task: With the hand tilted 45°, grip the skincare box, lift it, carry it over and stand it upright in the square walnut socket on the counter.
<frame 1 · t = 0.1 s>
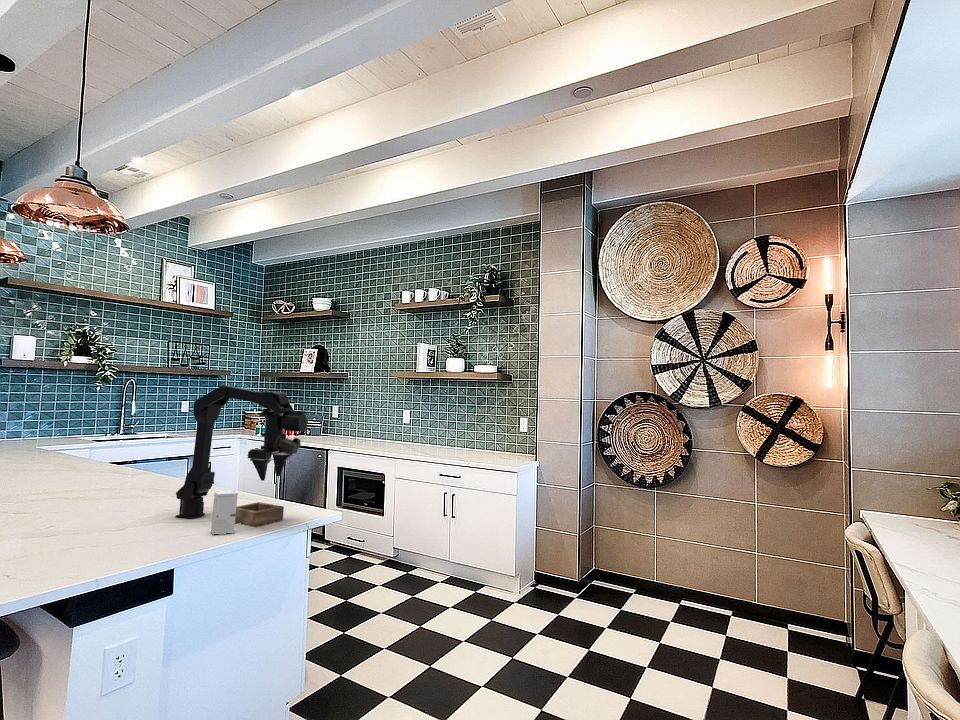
hand: (270, 478, 176), 15 cm above the worktop, tool pointing down, fingers open, 9 cm apart
walnut socket: (256, 521, 178), on the worktop
skincare box: (222, 533, 163), on the worktop
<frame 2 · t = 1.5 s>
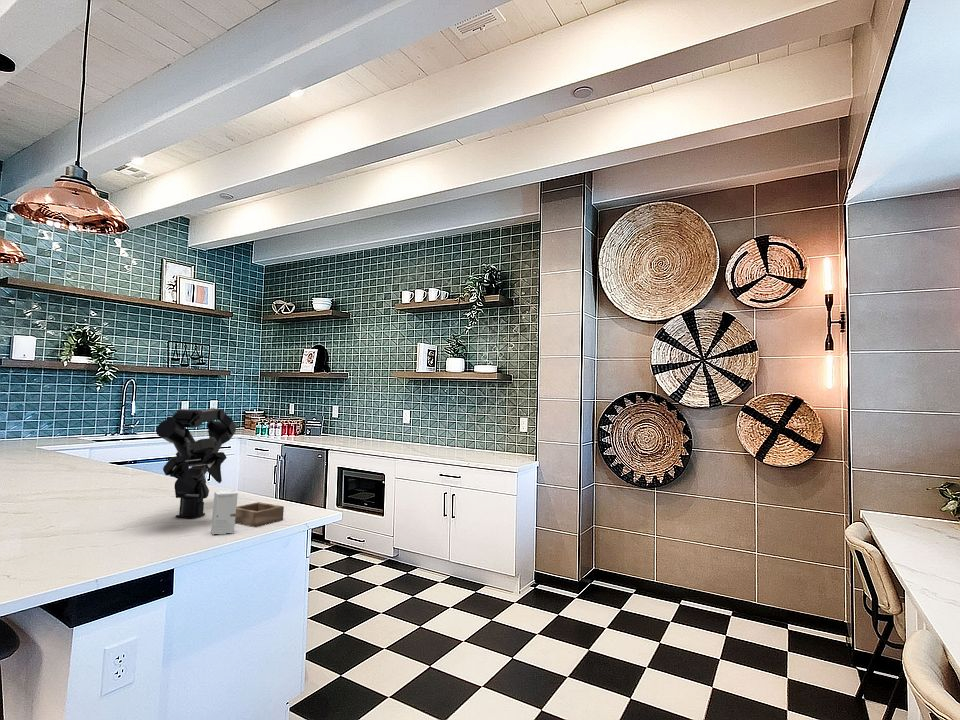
hand: (207, 484, 167), 13 cm above the worktop, tool tilted 45°, fingers open, 9 cm apart
nothing on the worktop moved.
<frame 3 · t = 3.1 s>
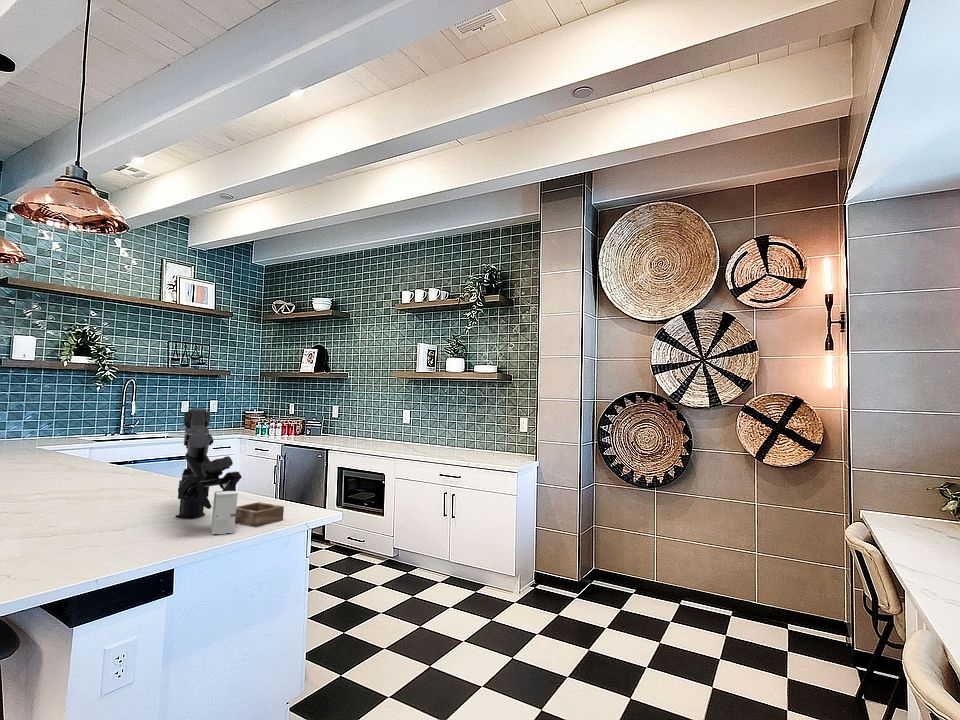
hand: (223, 505, 163), 8 cm above the worktop, tool tilted 45°, fingers open, 9 cm apart
nothing on the worktop moved.
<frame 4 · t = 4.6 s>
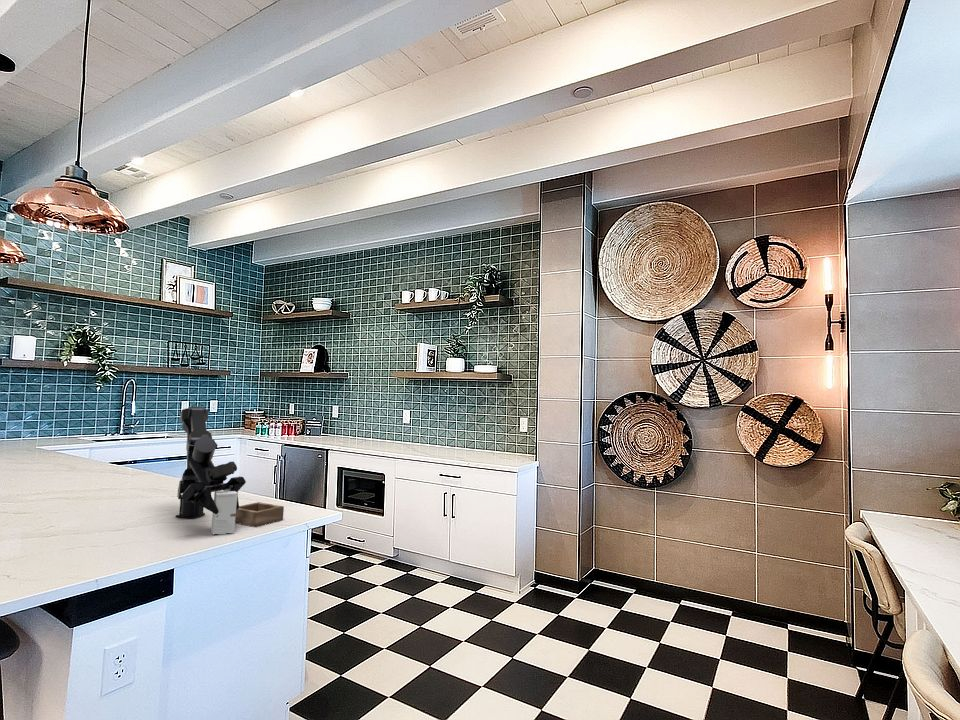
hand: (227, 511, 163), 7 cm above the worktop, tool tilted 45°, fingers closed on skincare box, 7 cm apart
skincare box: (222, 533, 163), on the worktop, touching gripper
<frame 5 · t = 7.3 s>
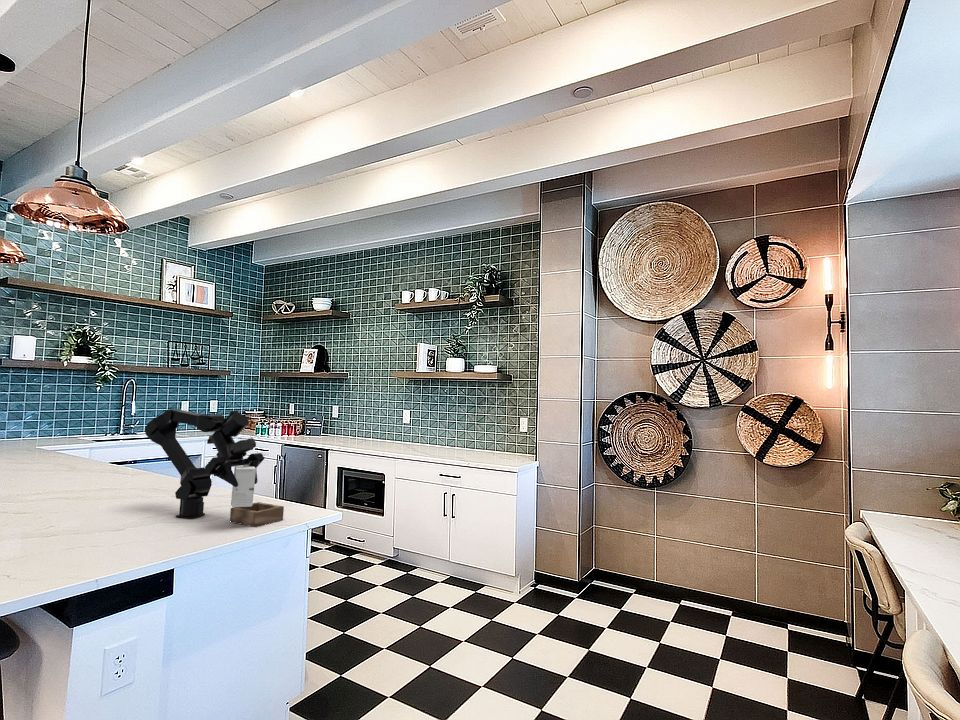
hand: (246, 484, 171), 13 cm above the worktop, tool tilted 45°, fingers closed on skincare box, 7 cm apart
skincare box: (241, 506, 172), point 6 cm above the worktop, touching gripper
when the fingers open (9 cm above the worktop, at t = 10.0 s): skincare box moves 1 cm, resting on walnut socket.
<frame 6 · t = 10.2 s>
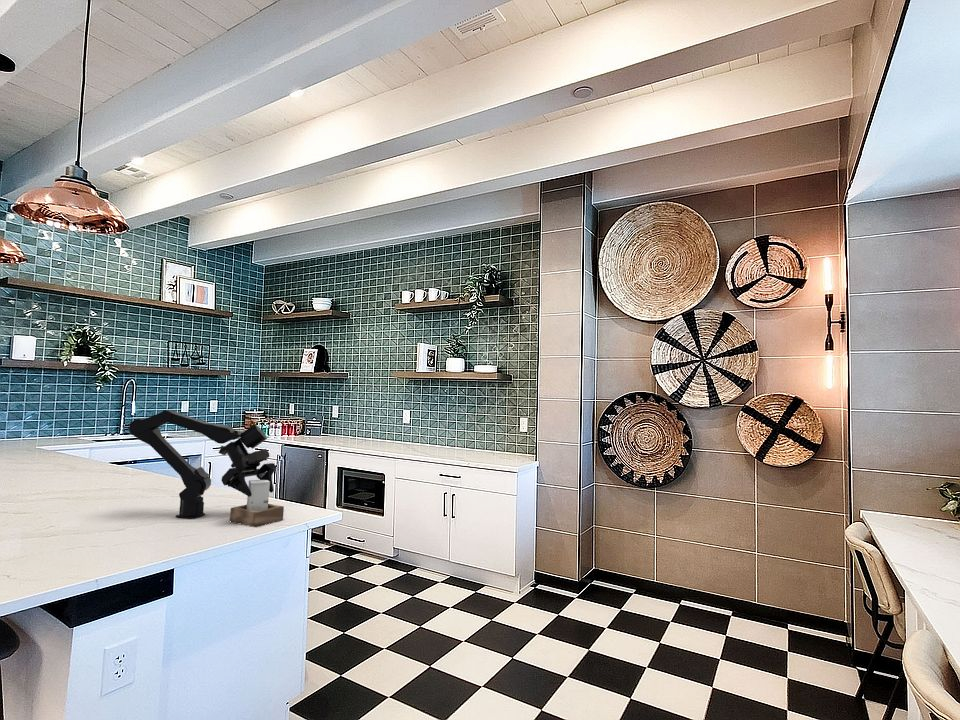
hand: (261, 493, 178), 9 cm above the worktop, tool tilted 45°, fingers open, 9 cm apart
skincare box: (256, 518, 179), point 1 cm above the worktop, touching walnut socket
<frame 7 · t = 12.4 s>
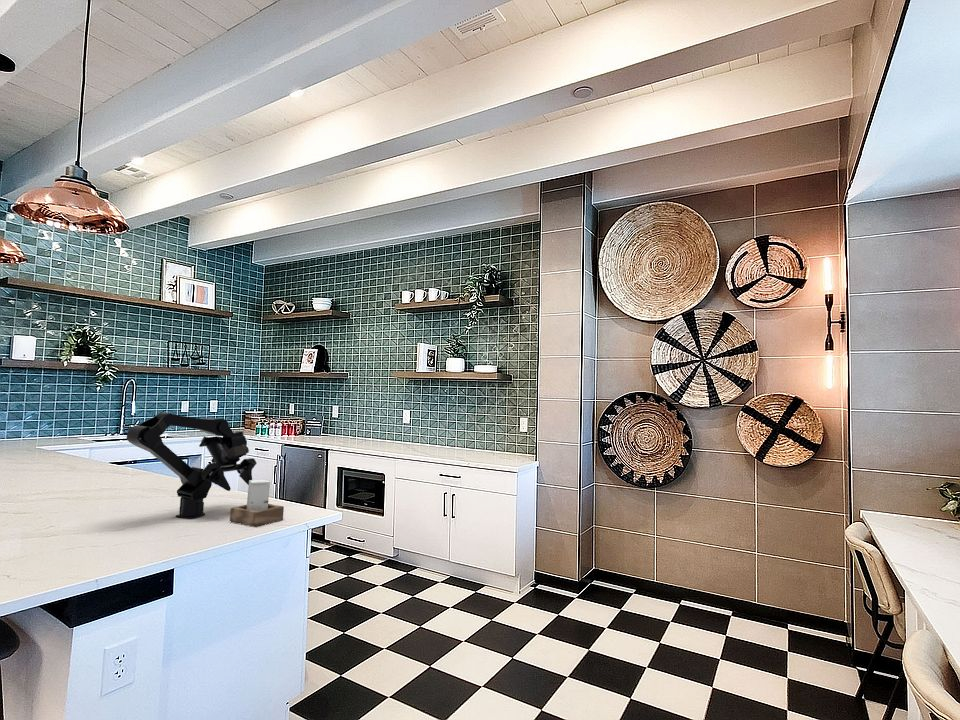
hand: (241, 488, 182), 10 cm above the worktop, tool tilted 45°, fingers open, 9 cm apart
nothing on the worktop moved.
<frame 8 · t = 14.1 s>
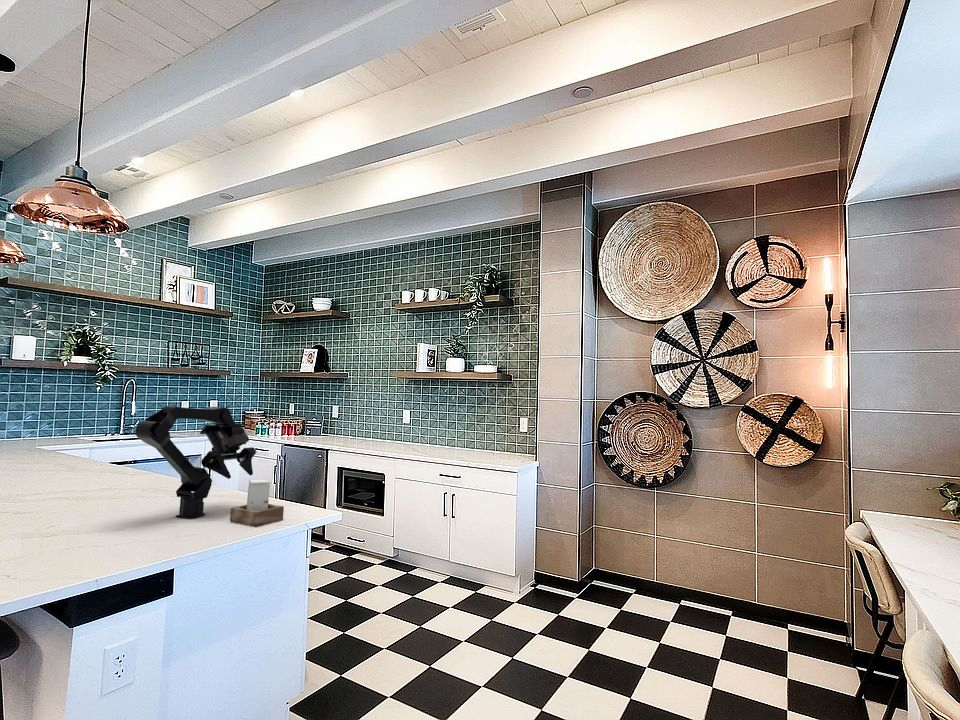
hand: (241, 476, 183), 14 cm above the worktop, tool tilted 45°, fingers open, 9 cm apart
nothing on the worktop moved.
at the end: skincare box 0.1 cm off-centre on the walnut socket, point 0.8 cm above the walnut socket's base; skincare box tilted 0°; the gripper is holding nothing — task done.
